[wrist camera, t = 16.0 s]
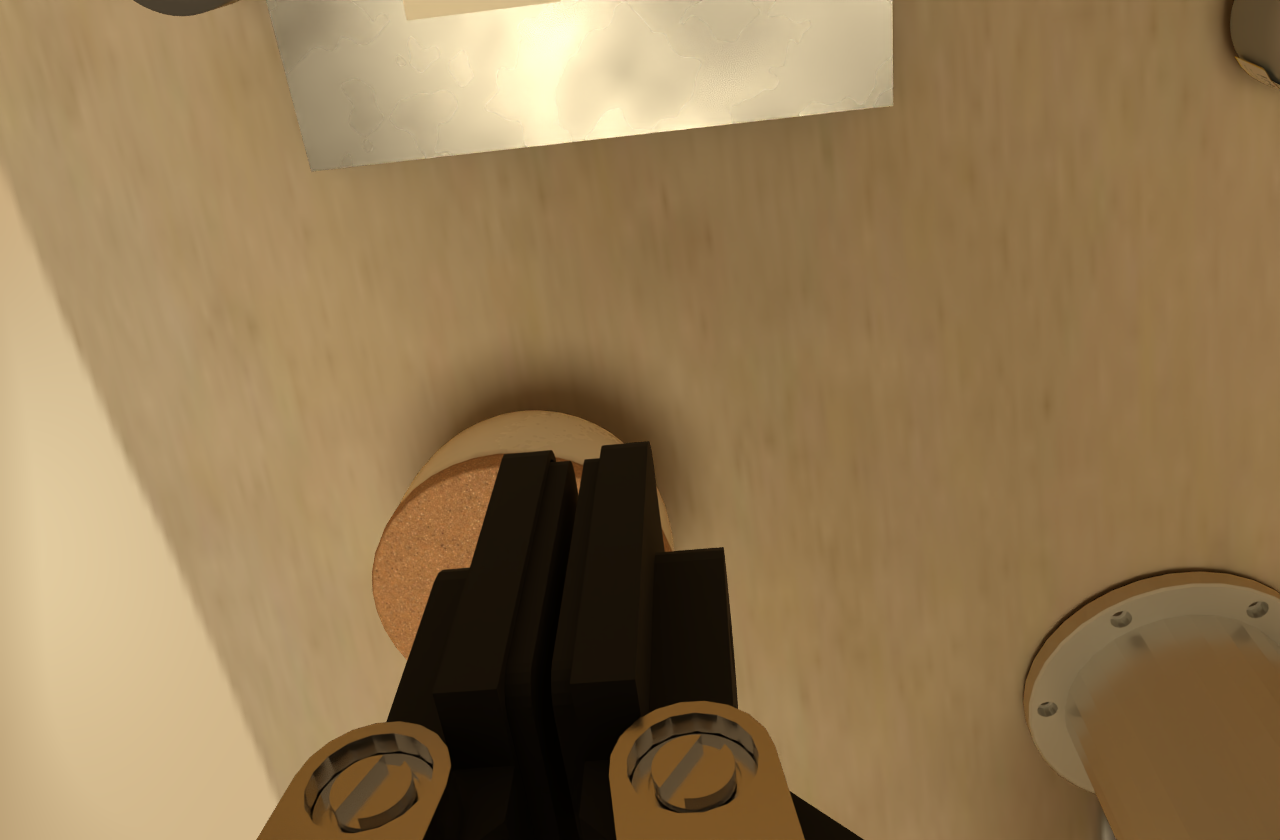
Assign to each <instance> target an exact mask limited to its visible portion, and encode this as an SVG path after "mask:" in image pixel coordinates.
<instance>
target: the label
mask: <svg viewBox="0 0 1280 840" xmlns="http://www.w3.org/2000/svg"><path fill="white" fill-rule="evenodd" d="M560 1H561V0H403V5H404V10H405V15H406V19H407V21H408V20H416V19H424V18H432V17H440V16H448V15H457V14H465V13H473V12H481V11H489V10H497V9H505V8H513V7H521V6H529V5H537V4H545V3H553V2H560Z"/></svg>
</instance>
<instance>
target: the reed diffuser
mask: <svg viewBox="0 0 1280 840" xmlns="http://www.w3.org/2000/svg"><path fill="white" fill-rule="evenodd" d="M1230 30H1231V39H1232V42H1233V45H1234V48H1235V51H1236V52H1237V54H1238V55H1239V57H1240V58H1238V57H1236V56H1234V57H1235V58H1236V60H1237V61H1238V63H1239V65H1240V66H1241V68H1243V69H1244V70H1245V71H1246V72H1247V73H1248V74H1249V75H1250V76H1251V77H1253V78H1255V79H1256V80H1258V81H1260V82H1262V83H1264V84H1266V85H1268V86H1270V87H1272V88H1275V89H1277V90H1279V91H1280V88H1279V87H1278V86H1277V85H1276V84H1275V83H1278V84H1280V0H1234V3H1233V6H1232V10H1231V19H1230ZM1272 81H1273V82H1272ZM1274 82H1275V83H1274Z"/></svg>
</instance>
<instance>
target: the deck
mask: <svg viewBox="0 0 1280 840" xmlns="http://www.w3.org/2000/svg"><path fill="white" fill-rule="evenodd" d="M266 3H267V6H268V10H269V14H270V18H271V21H272V25H273V29H274V33H275V37H276V40H277V44H278V48H279V52H280V55H281V59H282V63H283V67H284V71H285V74H286V78H287V82H288V86H289V89H290V93H291V97H292V101H293V105H294V108H295V112H296V116H297V120H298V123H299V127H300V131H301V135H302V138H303V142H304V146H305V150H306V154H307V157H308V161H309V165H310V169H311V171H320V170H329V169H338V168H347V167H356V166H364V165H373V164H382V163H391V162H400V161H408V160H417V159H426V158H435V157H444V156H453V155H461V154H470V153H479V152H488V151H497V150H506V149H514V148H523V147H532V146H541V145H550V144H559V143H567V142H576V141H585V140H594V139H603V138H612V137H620V136H629V135H638V134H647V133H656V132H664V131H673V130H682V129H691V128H700V127H709V126H717V125H726V124H735V123H744V122H753V121H762V120H770V119H779V118H788V117H797V116H806V115H815V114H823V113H832V112H841V111H850V110H859V109H868V108H876V107H885V106H893V21H892V0H561V1H560V2H553V3H545V4H537V5H529V6H521V7H513V8H505V9H497V10H489V11H481V12H473V13H465V14H457V15H448V16H440V17H432V18H424V19H416V20H408V21H407V19H406V15H405V10H404V5H403V0H266Z"/></svg>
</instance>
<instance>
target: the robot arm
mask: <svg viewBox="0 0 1280 840" xmlns="http://www.w3.org/2000/svg"><path fill="white" fill-rule="evenodd" d="M1023 705H1024V713H1025V720H1026V723H1027V725H1028V728H1029V731H1030V734H1031V736H1032V739H1033V742H1034V744H1035V746H1036V747H1037V749H1038V751H1039V752H1040V754H1041V756H1042V757H1043V759H1044V760H1045V761H1046V762H1047V763H1048V764H1049V766H1050V767H1051V768H1052V769H1053V770H1054V771H1055V772H1056V773H1057V774H1058V775H1060V776H1062V777H1063V778H1065V779H1066V780H1068V781H1069V782H1071V783H1072V784H1074V785H1075V786H1077V787H1080V788H1082V789H1084V790H1086V791H1089V792H1091V793H1094V794H1096V796H1097V798H1098V800H1099V802H1100V804H1101V807H1102V809H1103V811H1104V813H1105V816H1106V818H1107V820H1108V822H1109V825H1110V827H1111V829H1112V831H1113V834H1114V836H1115V838H1116V840H1280V593H1278V592H1277V591H1276V590H1274V589H1271V588H1269V587H1267V586H1265V585H1263V584H1261V583H1259V582H1256V581H1254V580H1251V579H1247V578H1243V577H1239V576H1235V575H1231V574H1226V573H1213V572H1200V571H1198V572H1185V573H1171V574H1166V575H1161V576H1157V577H1152V578H1148V579H1143V580H1139V581H1136V582H1134V583H1131V584H1128V585H1126V586H1123V587H1120V588H1118V589H1115V590H1112V591H1110V592H1109V593H1107V594H1105V595H1103V596H1101V597H1099V598H1098V599H1096V600H1094V601H1092V602H1090V603H1089V604H1087V605H1085V606H1084V607H1083V608H1081V609H1080V610H1079V611H1077V612H1076V613H1075V614H1073V615H1072V616H1071V617H1070V618H1068V619H1067V620H1066V621H1064V622H1063V623H1062V624H1061V625H1060V627H1059V628H1058V629H1057V630H1056V631H1055V632H1054V633H1053V634H1052V635H1051V636H1050V637H1049V638H1048V639H1047V640H1046V642H1045V643H1044V645H1043V646H1042V648H1041V650H1040V651H1039V653H1038V654H1037V656H1036V657H1035V659H1034V660H1033V663H1032V666H1031V668H1030V671H1029V674H1028V676H1027V679H1026V682H1025V690H1024V698H1023ZM257 840H864V839H862V838H860V837H859V836H857V835H856V834H854V833H853V832H851V831H850V830H848V829H847V828H845V827H844V826H842V825H841V824H839V823H838V822H836V821H834V820H833V819H831V818H830V817H828V816H827V815H825V814H824V813H822V812H821V811H819V810H818V809H816V808H815V807H813V806H812V805H810V804H808V803H807V802H805V801H804V800H802V799H801V798H799V797H798V796H796V795H795V794H793V793H792V792H790V791H789V788H788V785H787V782H786V779H785V775H784V772H783V769H782V766H781V763H780V760H779V757H778V753H777V750H776V747H775V745H774V743H773V741H772V739H771V737H770V736H769V734H768V732H767V730H766V728H765V727H764V726H762V725H761V724H760V723H759V722H758V721H757V720H755V719H754V718H753V717H752V716H751V715H750V714H748V713H746V712H743V711H741V710H739V709H738V701H737V687H736V673H735V660H734V648H733V636H732V625H731V614H730V604H729V594H728V584H727V574H726V564H725V555H724V548H723V547H720V548H708V549H695V550H683V551H670V552H665V549H664V542H663V534H662V526H661V519H660V511H659V503H658V496H657V488H656V480H655V473H654V465H653V458H652V451H651V446H650V443H649V441H647V442H635V443H624V444H613V445H603V446H602V447H601V452H600V458H595V459H585V460H584V463H583V470H582V476H581V482H580V488H579V495H578V489H577V483H576V477H575V472H574V467H573V464H572V462H571V461H560V462H556V458H555V455H554V453H553V451H552V450H545V451H534V452H523V453H511V454H504V456H503V458H502V460H501V464H500V467H499V471H498V474H497V477H496V481H495V484H494V487H493V491H492V494H491V498H490V501H489V504H488V508H487V511H486V514H485V518H484V521H483V525H482V528H481V531H480V535H479V538H478V541H477V545H476V548H475V552H474V555H473V558H472V562H471V565H470V568H457V569H445V570H442V571H440V572H439V573H438V575H437V577H436V579H435V581H434V583H433V586H432V589H431V592H430V595H429V598H428V601H427V604H426V607H425V610H424V613H423V616H422V619H421V622H420V625H419V628H418V631H417V634H416V636H415V639H414V642H413V645H412V648H411V651H410V654H409V657H408V660H407V663H406V666H405V669H404V672H403V675H402V678H401V681H400V684H399V687H398V689H397V692H396V695H395V698H394V701H393V704H392V707H391V710H390V713H389V716H388V719H387V722H384V723H375V724H372V725H368V726H365V727H361V728H358V729H354V730H351V731H350V732H348V733H346V734H344V735H342V736H340V737H338V738H336V739H334V740H332V741H330V742H329V743H327V744H326V745H325V746H324V747H322V748H321V749H320V750H318V751H317V752H316V753H315V754H313V755H312V756H311V757H310V758H309V759H308V760H307V761H306V763H305V764H304V765H303V766H302V768H301V769H300V770H299V771H298V773H297V774H296V775H295V776H294V778H293V780H292V781H291V783H290V785H289V786H288V788H287V790H286V791H285V793H284V795H283V796H282V798H281V800H280V801H279V803H278V805H277V806H276V808H275V810H274V811H273V813H272V815H271V817H270V818H269V820H268V821H267V823H266V825H265V826H264V828H263V830H262V831H261V833H260V835H259V836H258V838H257Z"/></svg>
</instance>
